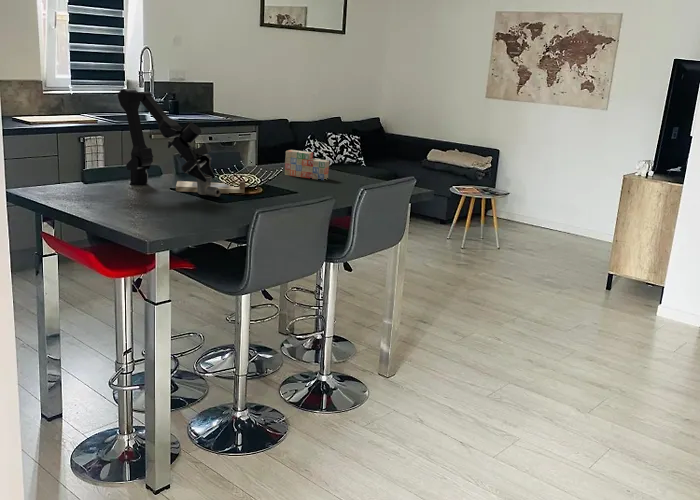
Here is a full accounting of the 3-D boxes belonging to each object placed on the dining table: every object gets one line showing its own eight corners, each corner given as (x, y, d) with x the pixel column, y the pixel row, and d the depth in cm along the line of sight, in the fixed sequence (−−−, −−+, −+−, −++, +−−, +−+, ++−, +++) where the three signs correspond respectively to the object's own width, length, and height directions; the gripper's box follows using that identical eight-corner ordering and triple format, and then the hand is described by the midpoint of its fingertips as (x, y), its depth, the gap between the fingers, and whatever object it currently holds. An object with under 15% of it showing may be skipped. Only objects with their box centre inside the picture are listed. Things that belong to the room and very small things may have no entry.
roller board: (175, 191, 286) (176, 179, 284) (177, 185, 297) (177, 174, 296) (244, 194, 292) (244, 182, 290) (243, 188, 303) (243, 177, 301)
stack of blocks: (328, 179, 345) (330, 154, 342) (323, 180, 339) (325, 155, 336) (289, 173, 352) (290, 149, 348) (284, 175, 346) (285, 150, 343)
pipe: (212, 199, 277) (213, 179, 275) (191, 193, 284) (191, 174, 282) (223, 197, 282) (224, 178, 279) (202, 192, 289) (203, 173, 287)
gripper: (189, 139, 269) (215, 170, 270) (207, 134, 286) (232, 164, 288) (170, 157, 272) (196, 188, 273) (189, 151, 290) (213, 180, 291)
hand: (210, 179), depth 281 cm, fingers open, 9 cm apart
